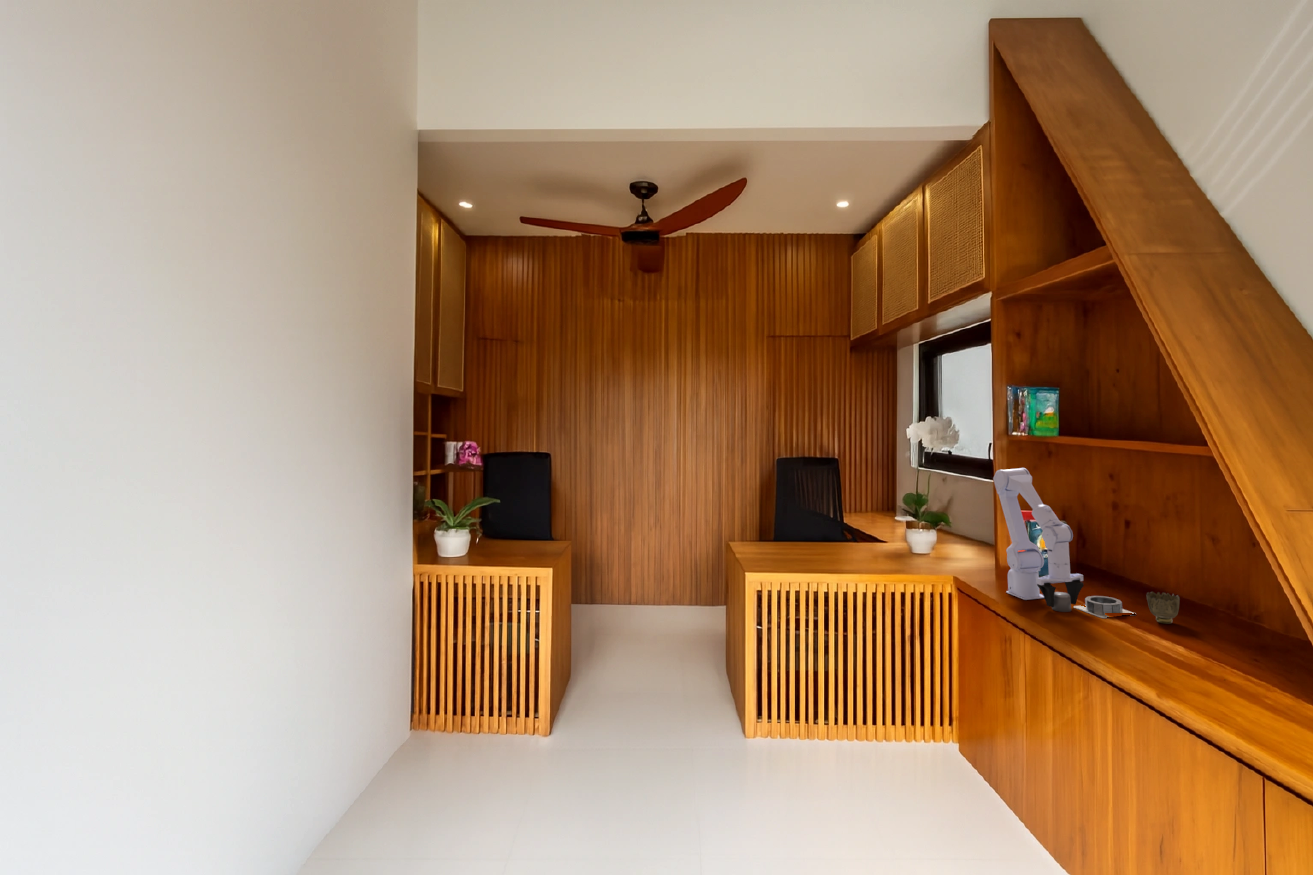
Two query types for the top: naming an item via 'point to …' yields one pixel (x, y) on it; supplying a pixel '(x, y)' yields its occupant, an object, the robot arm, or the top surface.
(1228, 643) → the top surface
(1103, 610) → the flanged metal ring
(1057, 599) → the cap
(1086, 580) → the top surface
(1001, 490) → the robot arm
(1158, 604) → the cup
